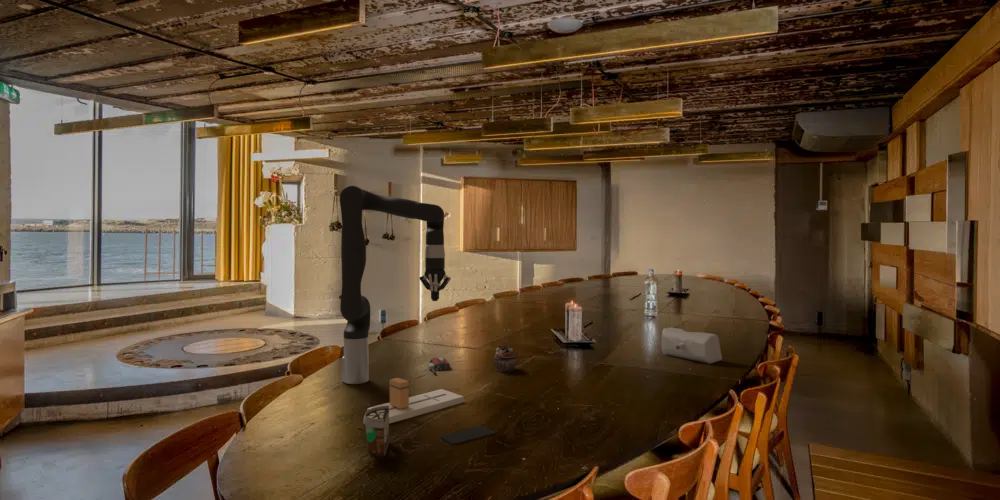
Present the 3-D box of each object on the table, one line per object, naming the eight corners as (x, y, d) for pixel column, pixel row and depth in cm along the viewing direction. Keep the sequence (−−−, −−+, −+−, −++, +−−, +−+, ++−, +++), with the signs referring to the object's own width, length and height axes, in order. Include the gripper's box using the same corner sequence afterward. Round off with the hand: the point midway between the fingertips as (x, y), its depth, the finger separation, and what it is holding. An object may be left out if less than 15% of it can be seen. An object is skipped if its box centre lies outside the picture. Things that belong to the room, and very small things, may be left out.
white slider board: (441, 394, 197) (441, 388, 197) (463, 402, 188) (463, 396, 188) (367, 414, 176) (367, 407, 176) (388, 423, 167) (388, 417, 167)
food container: (367, 440, 154) (366, 405, 154) (389, 440, 155) (389, 404, 154) (359, 459, 142) (359, 420, 142) (383, 458, 142) (383, 420, 142)
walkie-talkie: (425, 364, 241) (432, 376, 222) (425, 354, 241) (432, 365, 222) (445, 363, 244) (453, 374, 225) (445, 353, 244) (453, 364, 224)
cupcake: (520, 370, 230) (520, 346, 230) (501, 374, 225) (501, 349, 224) (507, 365, 238) (507, 342, 238) (488, 369, 232) (488, 345, 232)
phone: (496, 432, 160) (452, 444, 151) (496, 435, 160) (452, 447, 151) (482, 425, 165) (438, 436, 156) (482, 427, 165) (438, 438, 156)
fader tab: (398, 402, 180) (397, 377, 180) (408, 406, 176) (408, 381, 176) (389, 404, 178) (389, 379, 178) (400, 409, 174) (400, 383, 173)
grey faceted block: (653, 356, 256) (654, 329, 255) (673, 351, 266) (673, 325, 265) (703, 367, 236) (703, 338, 236) (722, 361, 247) (723, 333, 246)
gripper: (415, 256, 213) (415, 301, 214) (446, 257, 209) (446, 302, 209) (423, 255, 220) (424, 299, 221) (454, 256, 216) (454, 300, 216)
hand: (435, 300), depth 215 cm, fingers closed
